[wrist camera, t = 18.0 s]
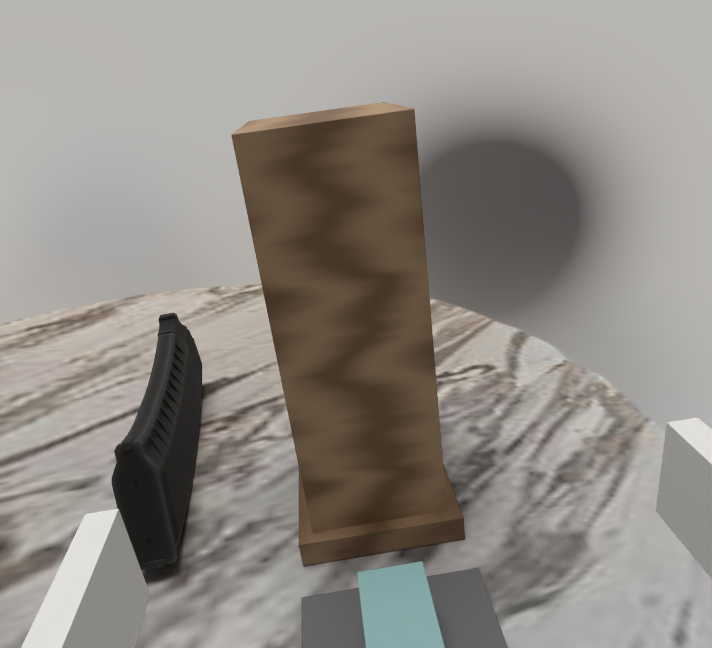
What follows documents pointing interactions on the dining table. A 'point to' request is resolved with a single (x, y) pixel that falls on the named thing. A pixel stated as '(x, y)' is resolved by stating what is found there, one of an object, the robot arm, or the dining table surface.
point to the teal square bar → (398, 608)
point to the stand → (351, 325)
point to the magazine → (161, 450)
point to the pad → (451, 602)
